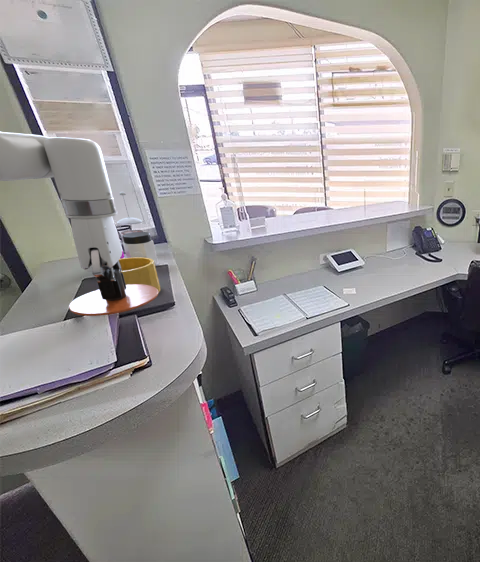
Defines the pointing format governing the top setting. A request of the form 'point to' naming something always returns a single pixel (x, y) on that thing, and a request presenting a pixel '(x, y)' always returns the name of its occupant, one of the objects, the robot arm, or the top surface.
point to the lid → (130, 299)
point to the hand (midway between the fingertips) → (115, 293)
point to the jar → (139, 245)
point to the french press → (128, 221)
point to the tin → (139, 271)
